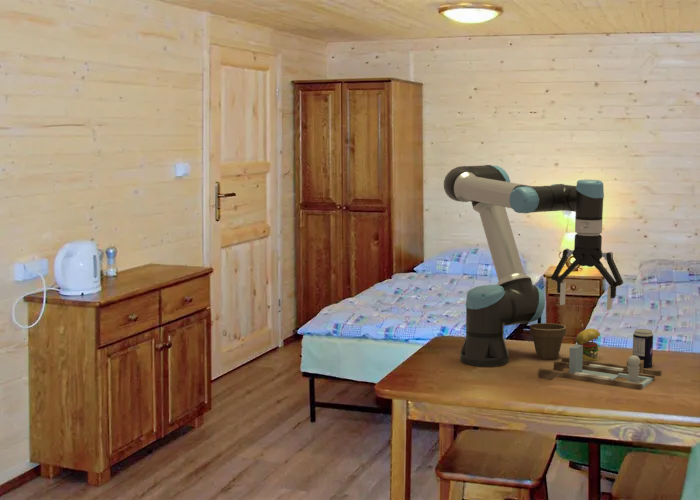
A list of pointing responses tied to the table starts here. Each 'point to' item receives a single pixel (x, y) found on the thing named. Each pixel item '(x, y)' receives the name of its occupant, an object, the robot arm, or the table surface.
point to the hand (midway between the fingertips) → (585, 306)
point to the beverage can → (643, 346)
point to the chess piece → (633, 369)
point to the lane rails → (598, 368)
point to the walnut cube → (639, 366)
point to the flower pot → (547, 339)
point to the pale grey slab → (576, 366)
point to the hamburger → (588, 343)
